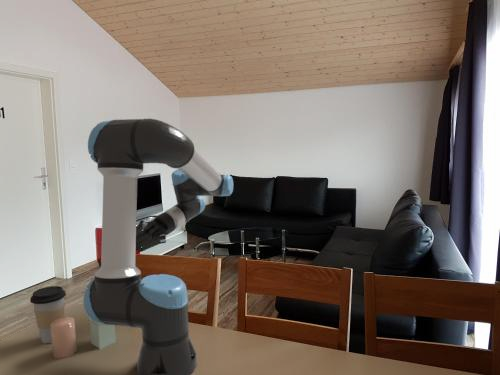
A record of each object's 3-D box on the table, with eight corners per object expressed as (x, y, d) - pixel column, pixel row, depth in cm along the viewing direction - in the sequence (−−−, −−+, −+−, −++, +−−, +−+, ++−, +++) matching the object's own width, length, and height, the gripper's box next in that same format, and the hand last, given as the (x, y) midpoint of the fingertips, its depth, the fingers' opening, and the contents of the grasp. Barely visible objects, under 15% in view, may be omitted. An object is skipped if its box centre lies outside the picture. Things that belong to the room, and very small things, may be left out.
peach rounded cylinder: (79, 352, 105) (77, 322, 104) (56, 361, 101) (53, 329, 100) (73, 344, 110) (70, 315, 109) (50, 352, 106) (47, 321, 105)
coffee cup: (76, 332, 117) (72, 286, 115) (53, 348, 108) (48, 298, 106) (51, 329, 119) (47, 284, 117) (26, 344, 110) (21, 295, 108)
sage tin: (116, 341, 111) (115, 316, 110) (99, 349, 107) (97, 323, 106) (107, 335, 114) (105, 311, 113) (90, 343, 110) (88, 318, 109)
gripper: (182, 237, 134) (127, 275, 118) (157, 220, 140) (102, 255, 124) (181, 221, 129) (124, 258, 113) (156, 205, 135) (98, 238, 120)
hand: (113, 256), depth 119 cm, fingers closed
